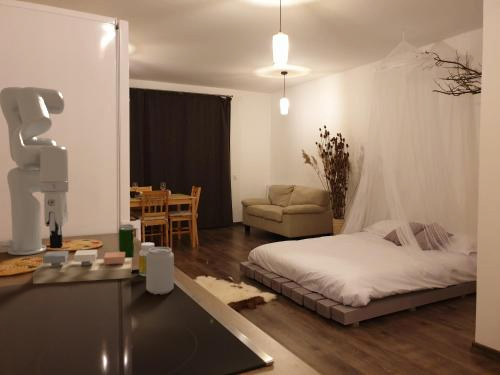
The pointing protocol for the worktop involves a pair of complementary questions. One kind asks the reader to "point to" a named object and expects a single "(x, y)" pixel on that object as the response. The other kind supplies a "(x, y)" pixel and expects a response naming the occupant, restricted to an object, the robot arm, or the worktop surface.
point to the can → (160, 270)
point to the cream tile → (85, 256)
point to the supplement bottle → (144, 257)
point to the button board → (82, 271)
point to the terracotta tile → (114, 258)
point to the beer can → (126, 240)
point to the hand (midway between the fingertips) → (56, 247)
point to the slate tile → (55, 258)
